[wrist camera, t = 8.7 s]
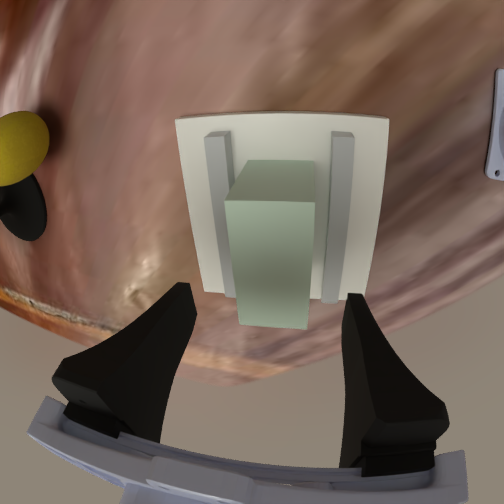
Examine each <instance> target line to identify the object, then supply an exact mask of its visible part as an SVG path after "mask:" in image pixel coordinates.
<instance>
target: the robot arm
mask: <svg viewBox="0 0 504 504" xmlns="http://www.w3.org/2000/svg"><path fill="white" fill-rule="evenodd" d="M496 170H497V174H495V171H496ZM485 174H486V175H487V176H488V177H489V178H491V179H496V180H501V181H504V69H497V71H496V78H495V98H494V110H493V120H492V129H491V137H490V144H489V150H488V156H487V162H486V167H485ZM196 317H197V311H196V307H195V303H194V299H193V295H192V291H191V287H190V283H182V282H177V283H176V284H175V285H174V286H173V287H172V288H171V289H170V290H169V291H168V292H166V293H165V294H164V295H163V296H162V297H161V298H160V299H159V300H158V301H157V302H156V303H154V304H153V305H152V306H151V307H150V308H149V309H148V310H147V311H145V312H144V313H143V314H142V315H141V316H139V317H138V318H137V319H136V320H135V321H133V322H132V323H131V324H129V325H128V326H127V327H125V328H124V329H122V330H121V331H119V332H118V333H116V334H115V335H113V336H111V337H110V338H108V339H106V340H105V341H103V342H101V343H99V344H97V345H95V346H93V347H91V348H89V349H87V350H85V351H83V352H80V353H78V354H75V355H72V356H70V357H67V358H64V359H63V360H62V362H61V364H60V365H59V367H58V369H57V370H56V372H55V373H54V375H53V377H52V382H53V384H54V385H55V387H56V388H57V389H58V390H59V391H60V392H61V394H63V396H64V397H65V398H66V399H67V400H68V401H69V402H68V404H67V406H66V405H64V404H63V403H61V402H59V401H57V400H55V399H53V398H51V397H49V396H46V397H45V399H44V400H43V402H42V404H41V406H40V408H39V410H38V411H37V413H36V415H35V417H34V419H33V421H32V423H31V425H30V426H29V429H28V431H27V434H28V435H29V436H30V437H32V438H33V439H34V440H36V441H37V442H38V443H40V444H41V445H43V446H44V447H45V448H47V449H48V450H49V451H51V452H52V453H54V454H55V455H57V456H59V457H61V458H63V459H64V460H66V461H68V462H70V463H72V464H74V465H76V466H77V467H79V468H81V469H83V470H85V471H87V472H89V473H91V474H93V475H95V476H97V477H99V478H102V479H104V480H106V481H108V482H110V483H112V484H115V485H117V486H120V487H122V488H124V492H123V495H122V498H121V501H120V503H119V504H464V503H466V502H467V501H468V483H467V472H466V461H465V453H464V450H459V451H454V452H448V453H443V454H439V455H437V456H435V457H434V450H435V449H436V440H437V439H438V438H439V437H440V436H441V435H442V434H443V433H444V432H445V431H446V430H447V429H448V427H449V424H450V423H449V417H448V413H447V409H446V406H445V403H444V402H443V401H441V400H440V399H439V398H438V397H437V396H435V395H434V394H433V393H432V392H430V391H429V390H428V389H427V388H426V387H425V386H424V385H423V384H422V383H421V382H420V381H419V380H418V379H417V378H416V377H415V376H414V375H413V373H412V372H411V371H410V370H409V369H408V368H407V367H406V366H405V364H404V363H403V362H402V361H401V359H400V358H399V357H398V355H397V354H396V353H395V351H394V350H393V348H392V347H391V346H390V344H389V342H388V341H387V339H386V338H385V336H384V335H383V333H382V331H381V329H380V328H379V326H378V324H377V322H376V321H375V319H374V317H373V315H372V313H371V311H370V309H369V307H368V305H367V303H366V301H365V299H364V296H363V295H362V294H361V293H348V295H347V300H346V305H345V311H344V316H343V321H342V355H343V366H344V376H345V377H344V378H345V413H344V428H343V439H342V448H341V456H340V463H339V468H306V467H291V466H279V465H278V466H277V465H269V464H260V463H251V462H245V461H238V460H232V459H225V458H219V457H214V456H209V455H204V454H200V453H195V452H190V451H186V450H182V449H178V448H174V447H170V446H166V445H163V444H160V437H161V431H162V425H163V420H164V415H165V410H166V406H167V402H168V398H169V394H170V390H171V386H172V383H173V379H174V376H175V373H176V370H177V368H178V365H179V363H180V361H181V358H182V356H183V354H184V351H185V349H186V347H187V344H188V342H189V339H190V337H191V334H192V332H193V328H194V325H195V321H196ZM277 483H278V484H277ZM283 484H290V485H292V486H290V485H283Z"/></svg>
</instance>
